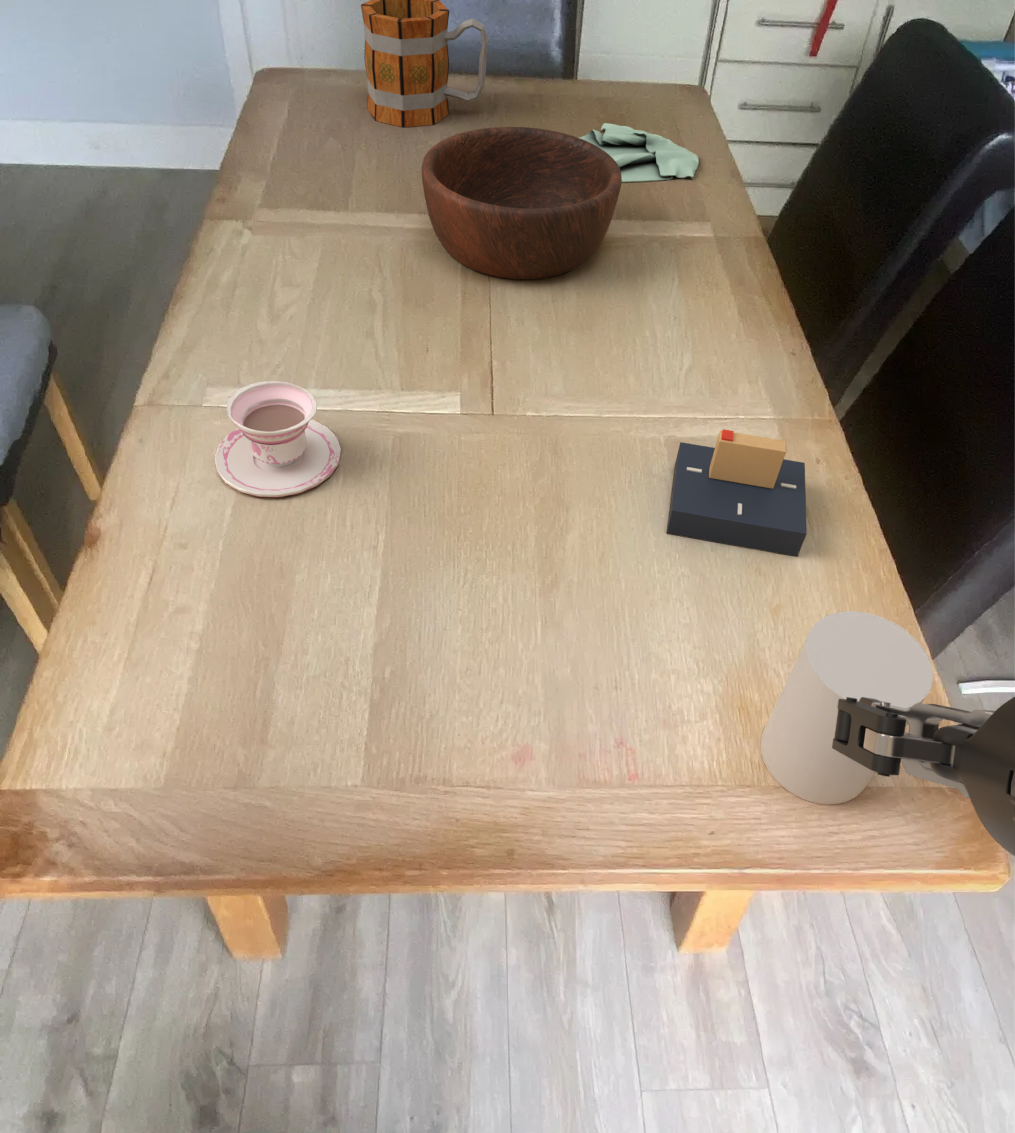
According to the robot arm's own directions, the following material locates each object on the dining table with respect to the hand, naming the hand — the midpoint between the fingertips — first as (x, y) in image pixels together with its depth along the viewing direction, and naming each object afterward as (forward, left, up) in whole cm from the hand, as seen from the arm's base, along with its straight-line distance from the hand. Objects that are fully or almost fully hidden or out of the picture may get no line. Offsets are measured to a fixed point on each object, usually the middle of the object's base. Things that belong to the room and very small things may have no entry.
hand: (943, 728), depth 48 cm
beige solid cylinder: (+1, -9, -18) cm, 21 cm away
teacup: (+52, -31, -18) cm, 64 cm away
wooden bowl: (+38, -80, -18) cm, 91 cm away
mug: (+61, -119, -18) cm, 135 cm away
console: (+8, -35, -18) cm, 40 cm away
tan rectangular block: (+8, -36, -15) cm, 40 cm away
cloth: (+27, -113, -18) cm, 118 cm away
